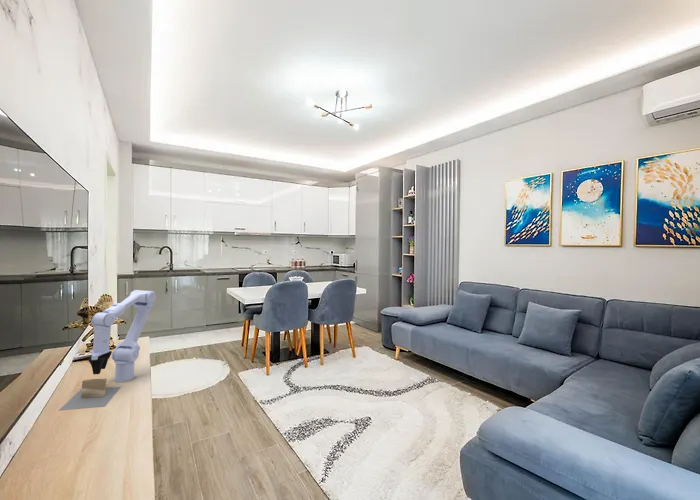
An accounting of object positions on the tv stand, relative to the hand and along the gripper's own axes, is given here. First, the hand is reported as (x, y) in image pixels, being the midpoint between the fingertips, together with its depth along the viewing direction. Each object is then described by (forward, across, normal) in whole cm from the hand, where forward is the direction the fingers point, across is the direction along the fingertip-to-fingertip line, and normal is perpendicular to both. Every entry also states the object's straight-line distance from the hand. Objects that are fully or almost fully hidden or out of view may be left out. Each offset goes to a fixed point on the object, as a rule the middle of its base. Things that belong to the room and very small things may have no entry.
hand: (99, 371), depth 143 cm
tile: (+9, +5, 0) cm, 10 cm away
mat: (+9, +6, 0) cm, 11 cm away
